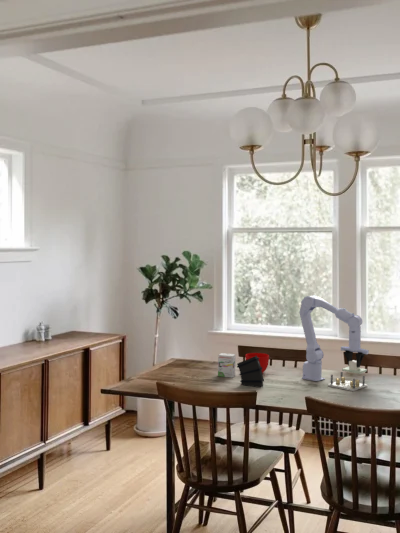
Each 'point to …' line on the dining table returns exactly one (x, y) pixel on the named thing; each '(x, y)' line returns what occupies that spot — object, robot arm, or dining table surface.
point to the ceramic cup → (260, 359)
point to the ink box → (226, 365)
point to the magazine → (251, 372)
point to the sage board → (354, 368)
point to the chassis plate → (347, 383)
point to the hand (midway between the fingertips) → (354, 366)
